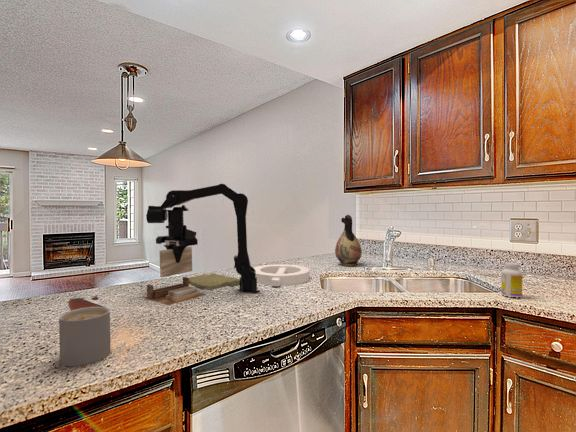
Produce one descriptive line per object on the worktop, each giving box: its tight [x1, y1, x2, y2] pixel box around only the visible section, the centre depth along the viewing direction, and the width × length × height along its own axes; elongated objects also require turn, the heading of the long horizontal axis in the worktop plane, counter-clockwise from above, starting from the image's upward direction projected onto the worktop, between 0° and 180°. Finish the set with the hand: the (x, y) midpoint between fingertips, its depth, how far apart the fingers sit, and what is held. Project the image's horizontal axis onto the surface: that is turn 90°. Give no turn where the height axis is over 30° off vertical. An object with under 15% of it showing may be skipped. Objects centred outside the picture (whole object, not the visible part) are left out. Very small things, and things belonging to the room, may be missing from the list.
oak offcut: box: [166, 291, 200, 303], centre depth 120 cm, size 6×10×2 cm, turn 145°
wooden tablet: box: [68, 294, 104, 311], centre depth 111 cm, size 27×10×2 cm, turn 37°
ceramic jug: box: [334, 214, 363, 267], centre depth 192 cm, size 17×15×30 cm
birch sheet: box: [159, 246, 193, 278], centre depth 127 cm, size 1×14×10 cm, turn 146°
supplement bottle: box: [500, 262, 523, 298], centre depth 126 cm, size 7×7×13 cm
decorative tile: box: [188, 272, 240, 291], centre depth 143 cm, size 19×20×4 cm
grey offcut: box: [168, 285, 198, 297], centre depth 120 cm, size 5×9×2 cm, turn 145°
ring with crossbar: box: [253, 263, 311, 287], centre depth 157 cm, size 28×28×5 cm
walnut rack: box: [142, 276, 207, 306], centre depth 122 cm, size 16×17×6 cm
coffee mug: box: [58, 306, 111, 367], centre depth 77 cm, size 13×10×10 cm
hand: (176, 262), depth 127 cm, fingers closed on birch sheet, 1 cm apart
